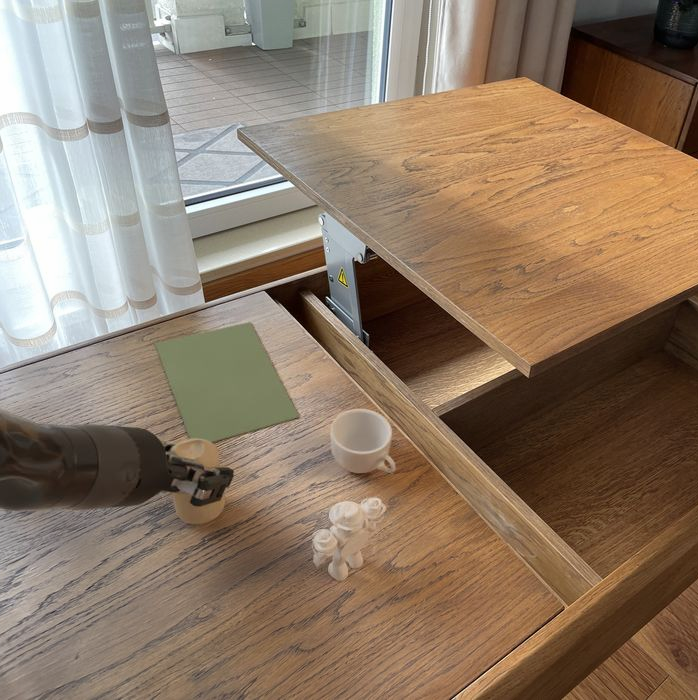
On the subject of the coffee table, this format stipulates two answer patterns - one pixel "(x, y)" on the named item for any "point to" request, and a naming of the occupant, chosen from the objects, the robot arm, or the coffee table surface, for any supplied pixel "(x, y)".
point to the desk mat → (224, 383)
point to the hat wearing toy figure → (346, 535)
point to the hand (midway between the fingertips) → (206, 466)
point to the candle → (209, 458)
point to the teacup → (361, 441)
